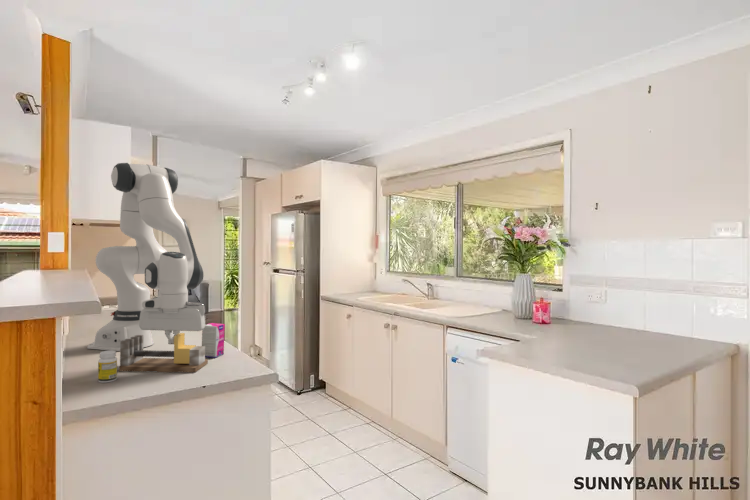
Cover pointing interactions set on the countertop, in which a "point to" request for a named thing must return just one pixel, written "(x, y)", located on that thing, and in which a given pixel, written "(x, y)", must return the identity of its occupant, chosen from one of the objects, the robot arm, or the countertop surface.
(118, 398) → the countertop surface
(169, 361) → the wooden board with slider
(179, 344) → the yellow l-shaped block
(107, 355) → the supplement bottle
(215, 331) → the supplement box
